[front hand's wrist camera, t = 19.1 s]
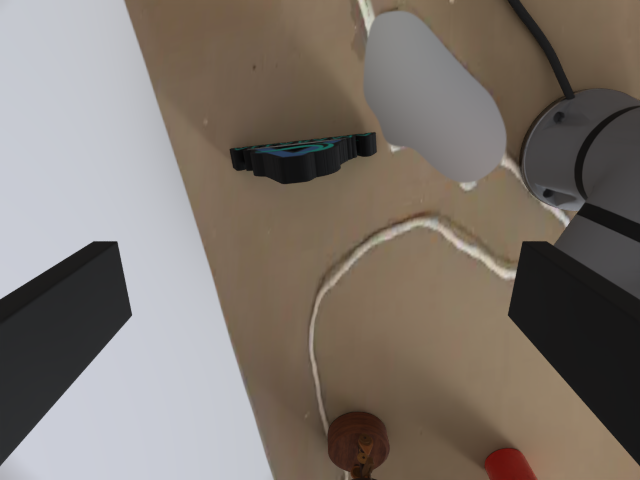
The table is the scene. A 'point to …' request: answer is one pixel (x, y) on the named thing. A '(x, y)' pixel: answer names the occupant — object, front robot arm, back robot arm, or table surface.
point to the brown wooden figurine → (358, 444)
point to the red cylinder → (508, 466)
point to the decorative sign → (302, 157)
